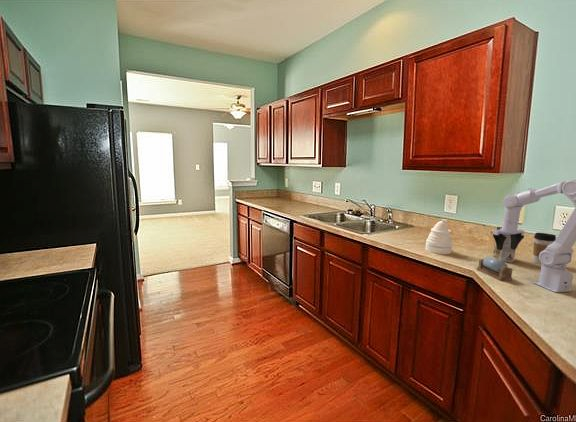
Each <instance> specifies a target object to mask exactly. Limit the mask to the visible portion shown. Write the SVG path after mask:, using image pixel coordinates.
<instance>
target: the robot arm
mask: <svg viewBox="0 0 576 422" xmlns="http://www.w3.org/2000/svg"><path fill="white" fill-rule="evenodd" d="M556 194H563V195H564V196H565V197H567V198H568V200H570V201H571V202H572V203H573V205H574V206H575V207H574V209H573V211H572V213H571V214H570V216H569V218H568V219H567V220H566V222H565V224H564V225H563V227H562V229H561V230H560V232H559V233H558V235H556V240H555V241H554V242H553V243H552V244H550V245H548V246H547V248H546V249H545V250H543V251H542V252H540V254H539V260H540V261H541V264H540V265H541V268H540V273H539V278H538V281H532V284H535V285H537V286H539V287H542V288H544V289H547V290H549V291H551V292H554V293H565V292H572V288H571V287H572V283H573V277H574V275H573V273H572V272H571V271H570V270H568V269H567V268H566V267H567V264H569V263H571V262H572V260H573V254H574V252H575V251H574V249H573V246H574V245H575V243H576V179H567V180H565V181H559V182H558V183H555V184H551V185H548V186H546V187H543V188H541V189H535V188H526V190H524V191H519V192H516V193H515V194H507V195H506V196H504V198H503V199H502V204H503V206H504V214H503V220H502V226H501V227H502V228H500V229H499V230H497V229H494V230H493V233H492V236H493V239H494V243H495V242H496V247H497V249H498V250H502V248H503V244H504V241H505V239H506V238H507V237H505V236H504V235H509V234H510V236H511V246H510V247H511V249H513V250H515V251H516V250H517V248H518V245H519V244H520V243H521V241H522V240H523V239H525V230H524V229H518V228H519V222H520V221H519V220H520V216H521V211H522V208H523V207H524V206H526V205H530V204H534V203H537V202H540V200H541V198H544V197H549V196H552V195H553V196H554V195H556Z"/></svg>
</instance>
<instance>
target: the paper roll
mask: <svg viewBox="0 0 576 422" xmlns="http://www.w3.org/2000/svg"><path fill="white" fill-rule="evenodd" d="M483 259H484V260H483V265H484V266H485V267H487V268H489V269H491V270H493V271H495V272H497V273H499V272H500V268H509V265H508V264H507V262H503V261H499V260H498V259H497V258H496V259H495V257H492V256H491V257H490V256H487V257H485V258H483Z"/></svg>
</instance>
